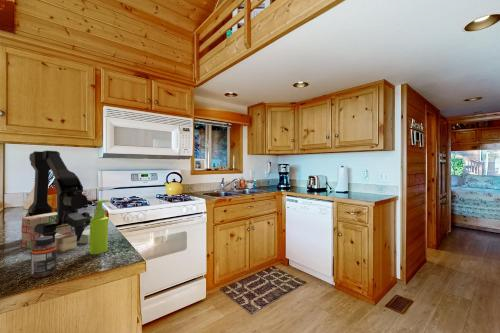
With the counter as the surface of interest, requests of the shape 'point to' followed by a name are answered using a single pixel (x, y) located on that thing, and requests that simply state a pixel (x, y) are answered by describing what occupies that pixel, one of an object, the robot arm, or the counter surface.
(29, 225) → the stack of blocks
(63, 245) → the maple cube
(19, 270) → the counter surface
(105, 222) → the soap dispenser
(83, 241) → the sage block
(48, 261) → the supplement bottle
